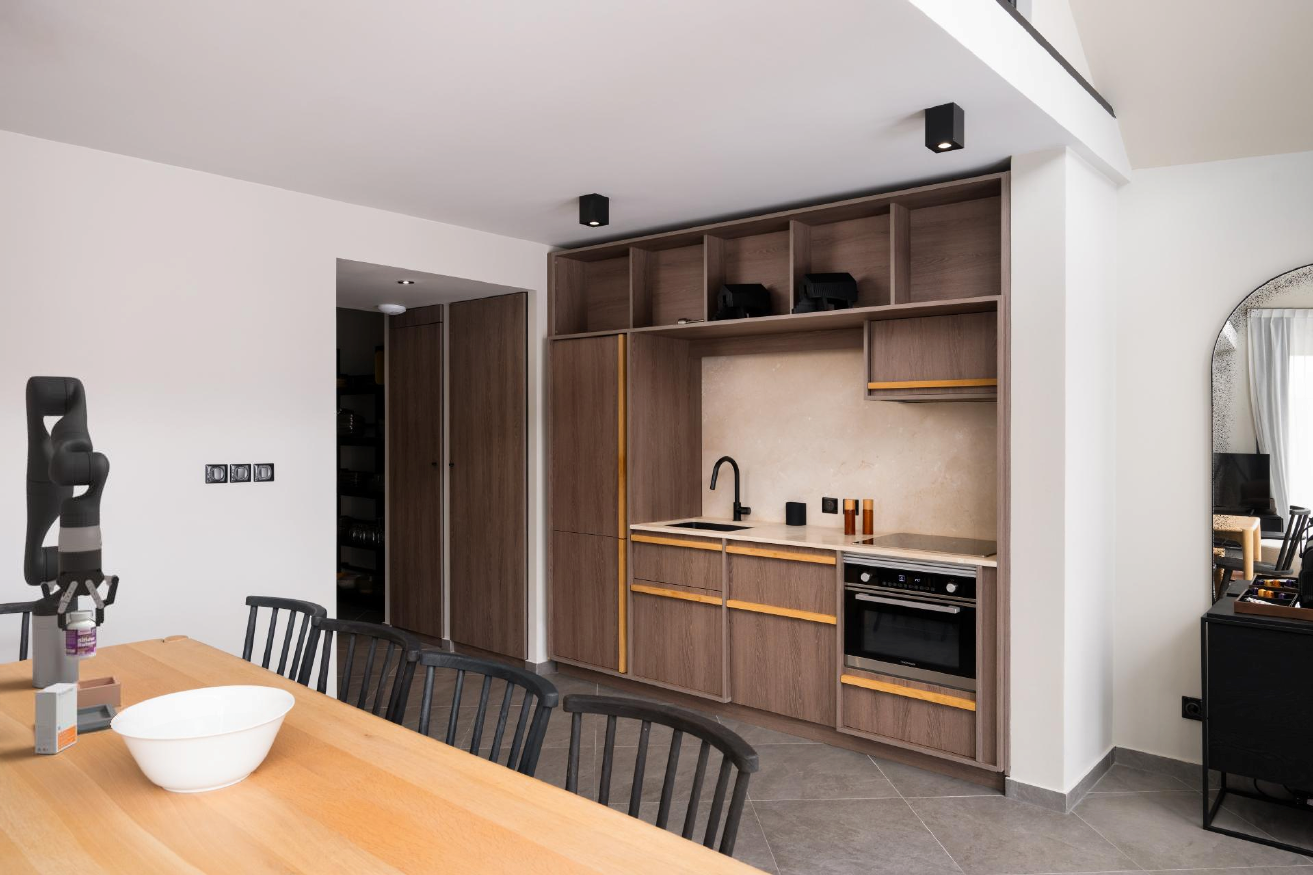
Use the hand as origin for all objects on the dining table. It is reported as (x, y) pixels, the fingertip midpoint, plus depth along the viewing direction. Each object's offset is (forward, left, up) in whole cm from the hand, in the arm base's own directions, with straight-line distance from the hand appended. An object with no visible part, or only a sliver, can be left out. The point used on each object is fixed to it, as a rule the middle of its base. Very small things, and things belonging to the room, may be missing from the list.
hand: (80, 627), depth 179 cm
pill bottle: (0, 0, -6) cm, 6 cm away
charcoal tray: (0, 0, -21) cm, 21 cm away
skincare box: (+12, -5, -21) cm, 25 cm away
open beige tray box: (-13, +4, -21) cm, 25 cm away
